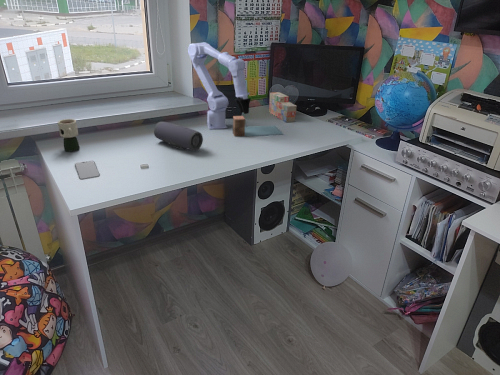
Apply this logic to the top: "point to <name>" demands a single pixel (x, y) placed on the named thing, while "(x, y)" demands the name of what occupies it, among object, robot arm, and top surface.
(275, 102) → the stack of blocks
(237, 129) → the walnut block
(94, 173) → the smartphone
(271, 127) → the teal-grey mat
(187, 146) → the bluetooth speaker
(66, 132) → the character mug
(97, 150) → the top surface
